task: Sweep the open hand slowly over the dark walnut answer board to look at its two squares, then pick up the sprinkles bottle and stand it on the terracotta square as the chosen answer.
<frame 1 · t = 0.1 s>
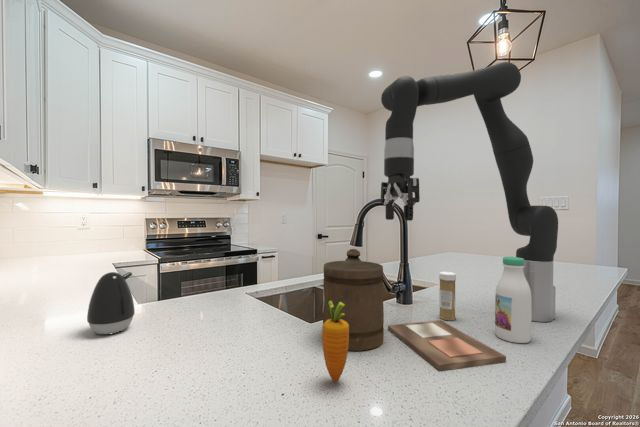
hand: (398, 220, 82), 29 cm above the counter, tool pointing down, fingers open, 8 cm apart
sprinkles bottle: (447, 319, 92), on the counter
wooden container: (352, 339, 77), on the counter
carrot: (335, 383, 57), on the counter
milk bottle: (512, 338, 78), on the counter
answer board: (440, 343, 74), on the counter
pump dispenser: (112, 331, 81), on the counter
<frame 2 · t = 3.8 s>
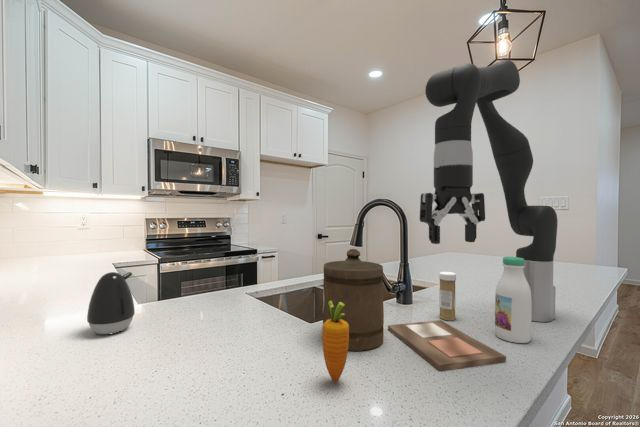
hand: (452, 242, 66), 25 cm above the counter, tool pointing down, fingers open, 8 cm apart
nothing on the counter moved.
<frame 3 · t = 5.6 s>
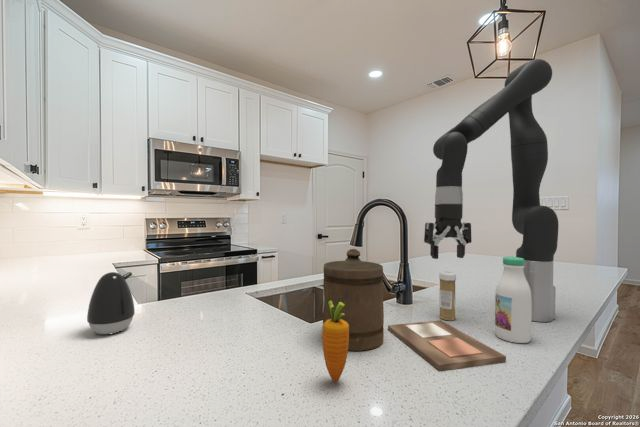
hand: (447, 258, 92), 18 cm above the counter, tool pointing down, fingers open, 8 cm apart
nothing on the counter moved.
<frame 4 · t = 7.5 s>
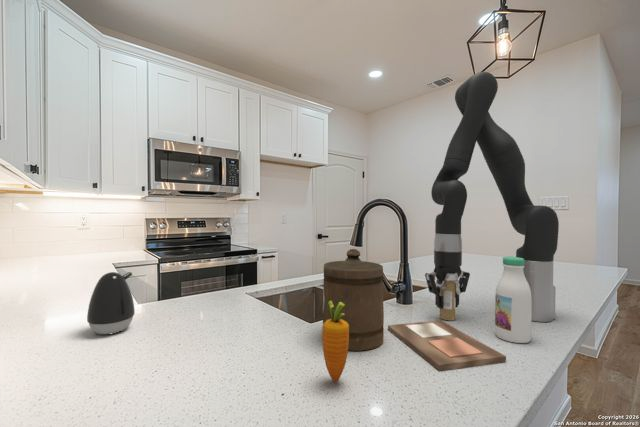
hand: (447, 307, 92), 3 cm above the counter, tool pointing down, fingers closed on sprinkles bottle, 4 cm apart
sprinkles bottle: (447, 319, 92), on the counter, touching gripper
everything else where it was.
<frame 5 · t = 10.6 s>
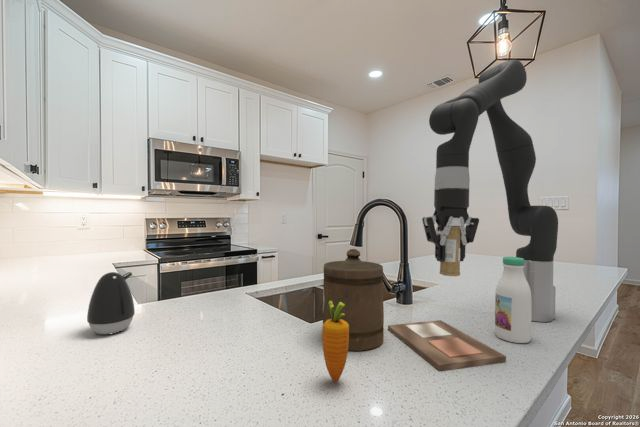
hand: (449, 260, 73), 20 cm above the counter, tool pointing down, fingers closed on sprinkles bottle, 4 cm apart
sprinkles bottle: (449, 275, 73), point 16 cm above the counter, touching gripper
everything else where it was.
when the fingers open (6 cm above the counter, at t = 14.0 s): sprinkles bottle stays where it is, resting on answer board.
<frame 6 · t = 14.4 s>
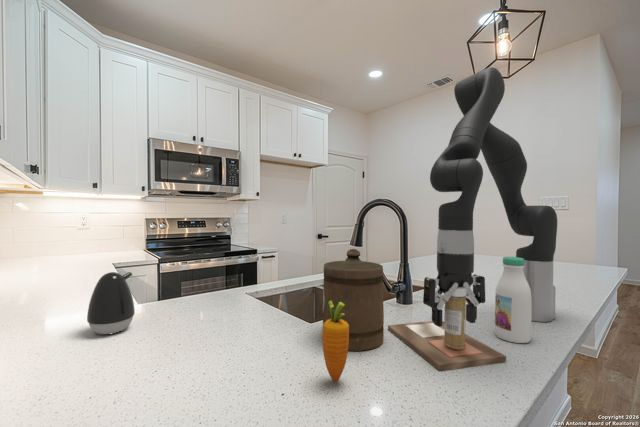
hand: (454, 323, 69), 7 cm above the counter, tool pointing down, fingers open, 8 cm apart
sprinkles bottle: (454, 347, 70), point 1 cm above the counter, touching answer board
everything else where it was.
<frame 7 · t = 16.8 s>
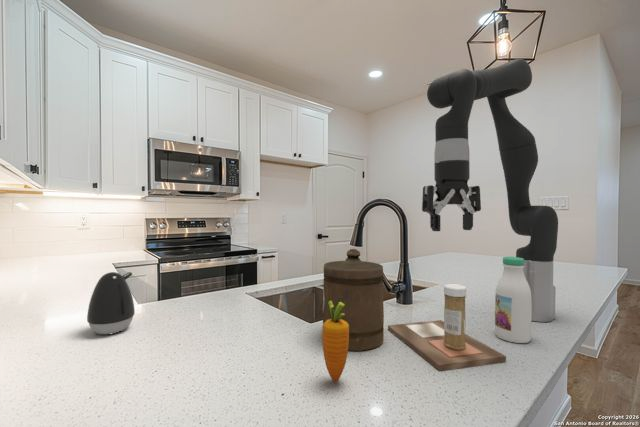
hand: (451, 230, 73), 27 cm above the counter, tool pointing down, fingers open, 8 cm apart
nothing on the counter moved.
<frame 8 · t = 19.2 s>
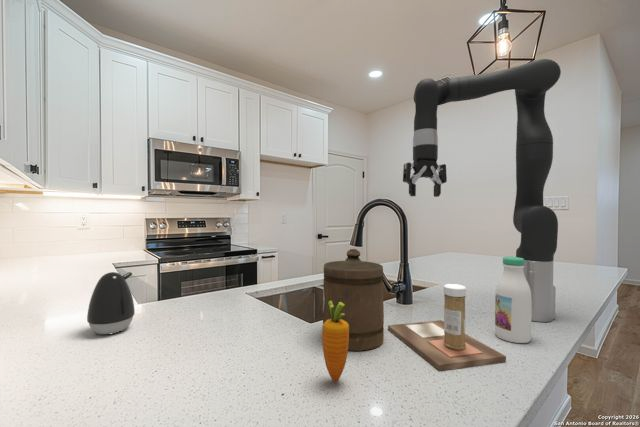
hand: (424, 196, 100), 36 cm above the counter, tool pointing down, fingers open, 8 cm apart
nothing on the counter moved.
at the end: sprinkles bottle inside the target area on the answer board (0.2 cm from its centre), point 1.3 cm above the answer board's base; sprinkles bottle tilted 0°; the gripper is holding nothing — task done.
